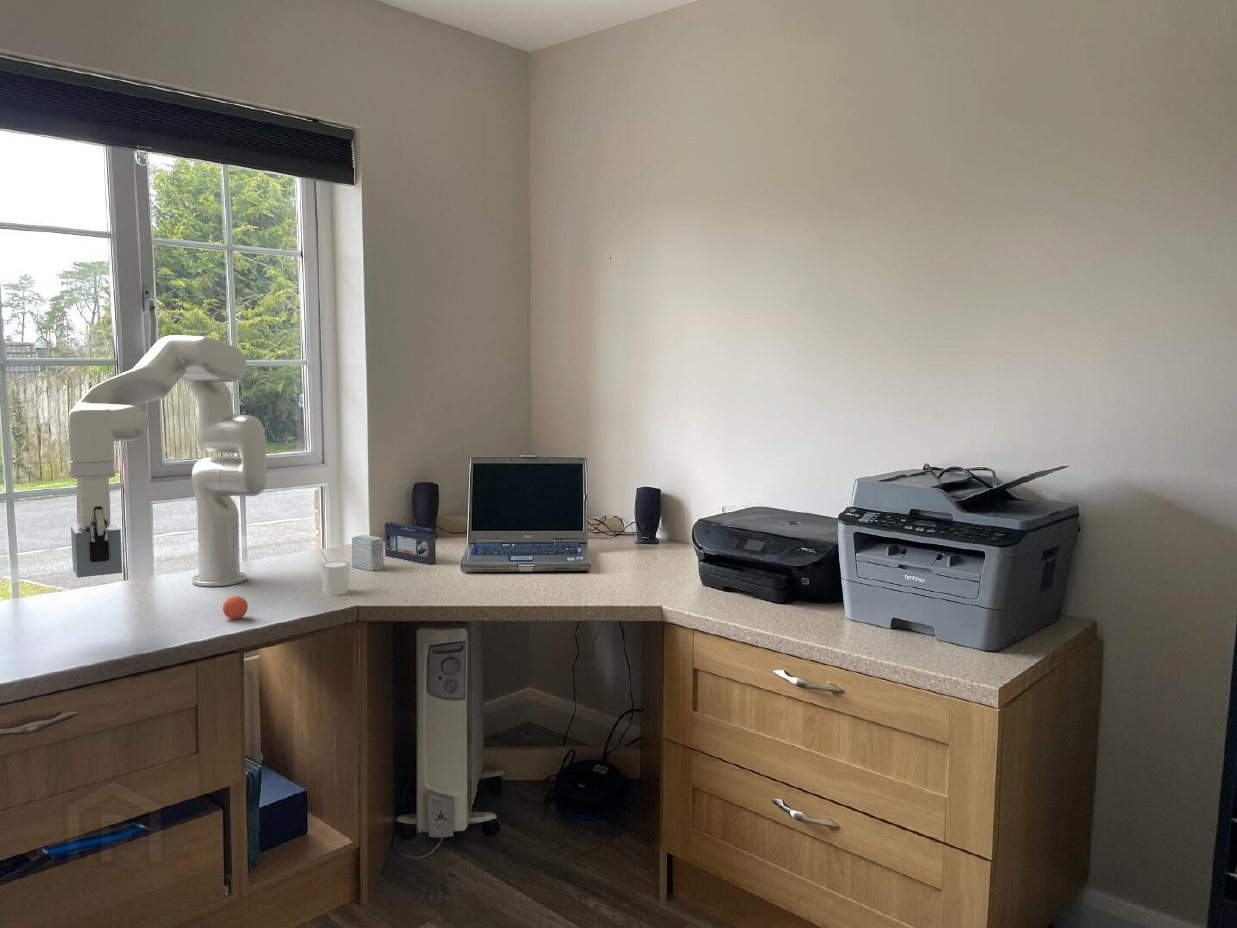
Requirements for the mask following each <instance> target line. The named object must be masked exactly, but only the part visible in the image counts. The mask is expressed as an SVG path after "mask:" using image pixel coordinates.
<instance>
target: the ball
mask: <svg viewBox="0 0 1237 928" xmlns="http://www.w3.org/2000/svg"><path fill="white" fill-rule="evenodd" d="M248 607H249V605H248V602H247V600H246V599H245V598H244V597H242V596H238V595H233V596H230V597H228V598H227V599H226V600H225V601H224V602H223V605H222V612H223V614H224V615H225V616H226V617H227V618H228V619H231V620H238V619H241V618H242V617H244V616H245V615H246V613H247V612H248V609H249V608H248Z"/></svg>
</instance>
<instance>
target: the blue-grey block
mask: <svg viewBox="0 0 1237 928" xmlns="http://www.w3.org/2000/svg"><path fill="white" fill-rule="evenodd" d="M92 526H96V525H92ZM121 531H122V530H121V528H120V527H119V526H118V525H117V524H116V523H115V522H113V523H111V522H110V526H109V527H107V536H108V541H109V560H108V561H100V562H91V561H90V543H89V542H91V534H90V527H86V529H82V528H81V527H80V526H79V525H72V526H70V535H71V539H70V540H71V556H72V571H73V572H74V575H75V576H76V578H77V579H79V578H85V577H87V578H88V577H97V576H104V575H105V576H106V575H115V574H122V573H123V558H122V557H123V556H122V537H121V536H122V534H121Z"/></svg>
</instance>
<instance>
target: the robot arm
mask: <svg viewBox="0 0 1237 928" xmlns="http://www.w3.org/2000/svg"><path fill="white" fill-rule="evenodd" d="M247 363H248V362H247V359H246V356H245V353H244V352H243V351H242V350H241V349H240V348H239V347H237V346H235V345H233V344H230V343H226V342H224V341H221V340H219V339H216V338H214V337H213V338H212V337H209V336H203V335H200V336H199V335H167V336H163V337H162V338H160V339H158V340H157V341H156V342H155V343H154V345H153V346H152V347H151V348H150V349H149V350H148V351H147V353H146V354H145V355H144V356H143V357H142V358H141V359H140V360H139V361H138V363H137V364H136V365H135V366H134V367H133V368H132V369H130V370H128V371H125V372H122V373H120V374H118V375H116V376H113V377H111V378H109V379H107V380H104V381H102V382H100V383H98V384H97V385H95V386H93V387H92V388H91V389H89V390H88V391H87V392H86V393H85V394H84V395H83V396H82V397H81V398H80V400H79V401H77V403H76V405H75V406H74V407H73V408H71V410H70V411H69V413H68V433H69V457H70V474H71V475H70V476H71V479H74V480H76V523H77V524H78V526H80V527H81V528H82V529H86V527H90V534H91V542H89V543H90V561H91V562H100V561H108V560H109V541H108V536H107V527H109V526H110V523H111V495H110V494H111V492H110V479H111V478H115V477H116V464H115V463H116V461H115V442H133V441H137V440H139V439H141V438H142V437H143V436H144V435H145V434H146V432H147V431H148V428H149V422H150V421H149V417H148V415H147V413H146V412H145V411H144V410H143V409H142V408H140V407H139V406H140V405H145V404H149V403H152V402H153V403H154V402H155V401H158V400H161V399H164V398H165V397H166V396H167V395H168V394H169V393H170V392H171V390H172V389H173V388H174V387H175V385H176V384H177V383H178V381H180V379H181V380H182V381H183V382H184V383H185V384H186V385H187V387H188V388H189V389H190V392H191V393H192V397H193V401H194V402H193V403H194V416H195V417H194V418H195V435H196V442H197V444H198V447H199V448H200V449H201V450H203V451H206V452H211V453H229V454H230V453H231V454H232V453H234V454H238V455H239V457H231V456H230V457H227V456H210V457H209V456H208V457H204V458H201V459H199V460H198V461H196V462H195V464H194V465H193V467H192V469H191V483H192V485H193V489H194V494H195V500H196V513H197V518H196V519H197V521H196V522H197V548H198V549H197V551H198V553H197V554H198V555H197V556H198V557H197V558H198V574H196V575H194V576H193V577H192V579H191V581H192V584H194V585H195V586H201V587H223V586H224V587H225V586H232V585H233V586H234V585H237V584H239V583H242V582H245V581H246V580H247V574H246V573H245V572H242V571H241V570H240V569H241V567H240V565H241V564H240V563H241V561H240V519H239V517H240V516H239V509H238V506H237V505H236V503H235V501H234V500H233V498H232V497H231V496H234V497H235V496H236V497H256V496H259V495H261V494H262V493H263V492H264V490H265V488H266V485H267V479H268V477H267V476H268V473H267V472H268V471H267V469H268V468H267V452H266V451H267V449H266V446H267V445H266V433H265V430H264V429H265V428H264V426H263V424H262V421H261V420H260V419H259V418H258V417H256V416H253V415H249V414H234V411H233V401H232V394H231V391H230V388H229V387H228V385H227V384H226V383H234V382H238V381H240V380H241V379H242V378H243V377H244V375H245V374H246V372H247V366H248V365H247ZM92 525H96V526H92Z"/></svg>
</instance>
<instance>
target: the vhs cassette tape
mask: <svg viewBox="0 0 1237 928" xmlns="http://www.w3.org/2000/svg"><path fill="white" fill-rule="evenodd" d="M436 533H437V532H436V529H433V528H428V527H422V526H415V525H410V524H405V523H404V524H403V523H398V522H392V521H390V522H385V523H384V556H385V557H387V556H388V557H387V558H392V559H396V558H399V559H398V560H401V559H403V560H402V561H406V560H407V561H406V562H412V563H417V564H421V565H426V564H428V565H427V566H432V565H435V564H437V562H436V561H437V558H436V555H437V554H436V553H437V550H436V549H437V548H436V546H437V545H436V543H437V541H436V539H437V538H436V536H437V535H436ZM431 564H432V565H431Z"/></svg>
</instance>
